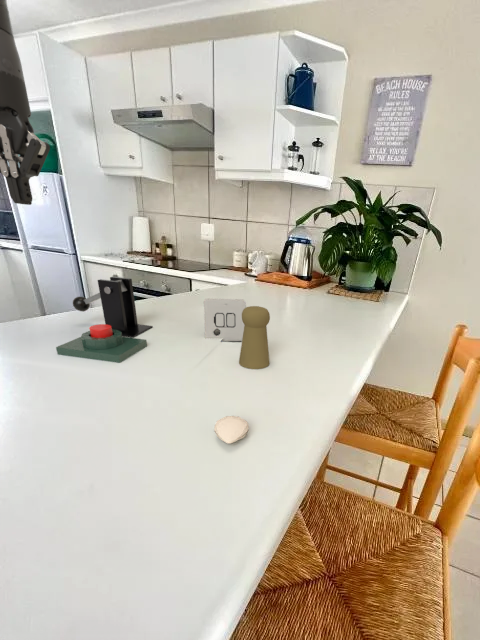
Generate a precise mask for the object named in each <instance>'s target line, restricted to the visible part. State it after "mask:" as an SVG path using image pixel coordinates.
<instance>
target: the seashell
mask: <svg viewBox="0 0 480 640" xmlns="http://www.w3.org/2000/svg"><path fill="white" fill-rule="evenodd" d="M213 430H214V431H213V432H214V433H215V434H216V436H217V438H218V439H219V440H221V441H223V442H224V443H225V444H227V445H228V444H233V443H236V442H237V441H239V440H242V439H244V438H245V437H246V435H247V434H248V432H249V423H248V422H247V421H246V420H245V419H244V418H242V417H240V416H236V415H230V416H229V415H226V416H224V417H222V418H219V419H218V420H216V422H215V424H214V428H213Z"/></svg>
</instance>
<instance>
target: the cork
mask: <svg viewBox="0 0 480 640" xmlns="http://www.w3.org/2000/svg"><path fill="white" fill-rule="evenodd" d="M270 319H271V314H270V311H269V310H268V309H267V308H266V307H264V306H259V305H249V306H246V308H245V309H244V310H243V311H242V321H243V323H244V332H243V338H242V341H241V346H240V352H239V359H238V364H239V365H240V367H242V368H245V369H250V370H262V369H266V368H268V367H269V366H270V354H269V353H270V352H269V342H268V341H269V340H268V330H267V329H268V328H267V327H268V326H267V325H269V323H270Z"/></svg>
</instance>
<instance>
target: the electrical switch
mask: <svg viewBox="0 0 480 640" xmlns="http://www.w3.org/2000/svg"><path fill="white" fill-rule="evenodd" d="M246 307H247V301H246V300H245V299H241V298H238V299H237V298H210V297H209V298H204V300H203V312H204V313H203V317H204V318H203V319H204V339H208V340H209V339H210V340H211V339H212V340H213V339H216V340H217V339H218V340H219V339H221V340H220V342H242V338H243V332H244V323H243V321H242V311H243V310H244V309H245V308H246ZM215 331H218V334H216V332H215Z"/></svg>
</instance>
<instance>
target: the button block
mask: <svg viewBox="0 0 480 640" xmlns="http://www.w3.org/2000/svg"><path fill="white" fill-rule="evenodd" d="M112 332H113V335H112V336H110V337H105V338H94V337H91V334H90V330H88V331H85V332H82V334H81V336H79V337H76V338H75V339H72V340H69V341H68V342H65V343H63V344H60V345H58V346H55V349H56V354H57V355H58V356H65V357H72V358H73V357H74V358H80V359H87V360H94V361H102V362H103V361H104V362H108V363H109V362H111V363H117V364H121V363H122V362H124V361H126V360H128V359H130V357H132V356H134V355H135V354H137V353H139V352H140V351H142V350H144V349H146V348H147V347H148V342H147V339H143V338H137V337H134V338H130V337H123V336H122V332H120V331H118V330H114V329H112Z"/></svg>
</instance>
